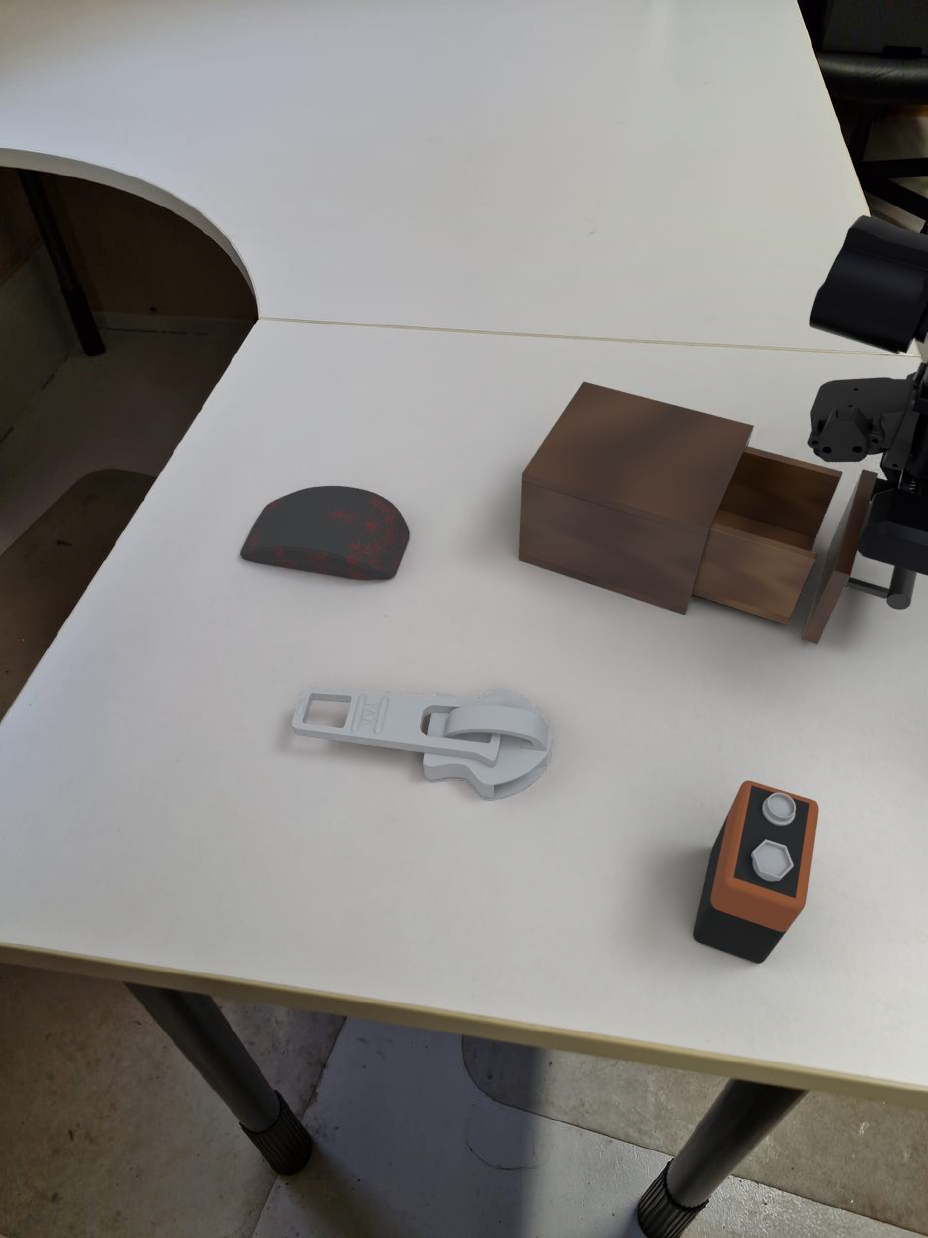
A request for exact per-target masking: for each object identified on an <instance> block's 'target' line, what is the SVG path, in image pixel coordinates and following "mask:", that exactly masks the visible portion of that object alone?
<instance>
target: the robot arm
mask: <svg viewBox="0 0 928 1238" xmlns="http://www.w3.org/2000/svg"><path fill="white" fill-rule="evenodd" d="M808 325H809V327H810V328H812V329H814V330H818V331H822V332H824V333H827V334H831V335H834V336H838V337H841V338H844V339H847V340H850V341H853V342H857V343H859V344H862V345H866V346H869V347H872V348H875V349H879V350H882V351H885V352H888V353H891V354H894V355H899V354H900V353H903V354H907V353H908V351H909V349H910V347H912V344H913V341H914V342H917V343H919V344H922V345H924V344H925V343H926V342H928V234H924V233H921V232H917V231H914V230H909V229H906V228H901V227H897V226H895V225H892V224H891V223H889V222H888V221H885V220H883V219H881V218H877V217H873V216H870V215H865V214H862V215H860V216H858V217H857V218H856V220H855V221H854V222H853V223H852V225H850V227H848V229H847V232H846V234H845V238H844V240H843V243H842V246H841V248H840V250H839V251H838V253H837V255H836V257H835V259H834V260H833V262H832V265H831V267H830V269H829V270H828V273H827V275H826V278H825V280H824V282H823V283H822V284H821V286H820V287H819V288H818V290H817V291H816V294H815V297H814V300H813V303H812V306H811V310H810V314H809V319H808ZM809 416H810V428H811V431H810V434H809V437H808V439H807V443H806V444H807V446H808V447H809V448H810V449H812V451H813V454H814V456H816V457H818V458H820V459H821V460H822V461H824V462H825V463H860V462H862V461H863V460H865V459H866V458H867V456H875V455H880V454H881V458H880V461H879V468H880V471H881V472H882V473H883V475H884V476H885V478H886V479H885V478H880V477H877V478H876V479H875V483H874V487H873V490H872V494H871V498H870V500H871V503H870V506H869V508H868V511H867V513H866V516H865V519H864V521H863V524H862V528H861V532H860V535H859V539H858V542H857V546H856V549H857V552H858V553H859V554H860V555H861V556H862V557H863V558H867V559H869V560H873V561H877V562H880V563H884V564H886V565H890V566H893V567H894V566H896V567H900V568H903V569H906V570H910V571H913V572H917V574H920V575H923V576H927V577H928V358H927V359H926V361H925V362H924V361H923V362H922V361H921V362H919V365H918V367H917V370H916V371H914V372H911V373H908V374H907V375H906V377H905V378H892V377H889V376H880V377H879V376H878V377H863V378H847V379H846V378H845V379H843V378H842V379H832V380H829V381H826V382H824V383H822V384H820V386H819V388H818V390H817V393H816V396H815V399H814V401H813V403H812V406H811V409H810V412H809Z"/></svg>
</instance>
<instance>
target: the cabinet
mask: <svg viewBox="0 0 928 1238" xmlns="http://www.w3.org/2000/svg"><path fill="white" fill-rule="evenodd" d="M754 428H755V426H754V425H753V424H750V423H746V422H742V421H737V420H733V419H730V418H727V417H724V416H723V417H722V416H718V415H714V414H710V413H706V412H704V411H703V412H702V411H699V410H696V409H691V408H687V407H684V406H680V405H677V404H673V403H667V402H665V401H660V400H657V399H653V398H649V397H645V396H641V395H637V394H635V393H629V392H626V391H622V390H618V389H615V388H611V387H607V386H603V385H599V384H595V383H591V382H588V381H582V383H581V384H580V386H579V388H578V389H577V391H576V392H575V393H574V395H573V396H572V398H571V399H570V401H569V402H568V404H567V405H566V407H565V408H564V410H563V411H562V413H561V414H560V416H559V417H558V419H557V421H556V422H555V423H554V425H553V426H552V428H551V430H550V431H549V432H548V434H547V435H546V436H545V438H544V440H543V441H542V442H541V444H540V446H539V447H538V449H537V450H536V452H535V453H534V454H533V456H532V457H531V459H530V461H529V462H528V463H527V465H526V466H525V468H524V470H523V471H522V472H521V487H520V488H521V489H520V513H519V515H520V516H519V535H518V536H519V537H518V560H519V561H521V562H524V563H528V564H531V565H534V566H537V567H539V568H542V569H545V570H548V571H551V572H555V573H558V574H560V575H564V576H566V577H569V578H572V579H574V580H575V579H576V580H577V581H581V582H585V583H588V584H590V585H593V586H596V587H599V588H603V589H605V590H609V591H612V592H615V593H617V594H621V595H624V596H626V597H630V598H633V599H635V600H639V601H641V602H644V603H648V604H651V605H653V606H657V607H659V608H662V609H666V610H668V611H671V612H673V613H674V612H675V613H677V614H680V615H683V616H686V614H687V613H688V610H689V607H690V606H691V602H692V600H693V598H694V596H695V595H693V594H692V593H693V589H694V586H695V582H696V578H697V575H698V571H699V568H700V564H701V561H702V557H703V553H704V550H705V546H706V543H707V539H708V535H709V532H710V529H711V527H712V524H713V522H714V520H715V517H716V515H717V513H718V510H719V508H720V506H721V504H722V501H723V499H724V497H725V494H726V492H727V490H728V487H729V485H730V483H731V480H732V478H733V476H734V474H735V471H736V469H737V467H738V464H739V462H740V460H741V457H742V455H743V453H744V450H745V448H746V446H748V447H749V445H750V440H751V437H752V434H753V431H754Z"/></svg>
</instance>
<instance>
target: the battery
mask: <svg viewBox="0 0 928 1238" xmlns="http://www.w3.org/2000/svg"><path fill="white" fill-rule="evenodd" d="M819 809H820V808H819V804H818V803H817V801H815V800H814V799H811V798H808V797H804V796H801V795H798V794H795V793H792V792H790V791H789V792H788V791H786V790H783V789H779V788H776V787H772V786H769V785H766V784H763V783H760V782H756V781H752V780H744V781H743V782H742V783H741V785H740V787H739V788H738V791H737V793H736V795H735V798H734V800H733V801H732V804H731V806H730V808H729V809H728V810H729V811H728V812H727V814H726V816H725V819H724V821H723V823H722V825H721V828H720V830H719V831H718V834H717V836H716V839H715V841H714V843H713V845H712V847H711V850H710V854H709V860H708V863H707V868H706V873H705V877H704V881H703V887H702V891H701V896H700V900H699V905H698V910H697V914H696V917H695V922H694V928H693V932H692V933H693V939H694V940H695V942H697V943H699V944H701V945H705V946H707V947H710V948H713V949H715V950H718V951H721V952H724V953H727V954H728V955H729V954H730V955H732V956H735V957H737V958H741V959H743V960H745V961H748V962H751V963H754V964H758V965H761V964H763V963H764V962H765V961H766V960H767V959H768V957H769V956H770V955H771V953H772V952H773V950H774V949H775V948H776V946H777V945H778V944H779V943H780V941H781V940H782V939H783V937H784V936H785V934H786V933H787V932H788V931H789V929H790V928H791V927H792V925H793V924H794V922H796V920H797V918H798V917H799V916H800V914H801V913H802V912H803V910H804V909H805V907H806V904H807V898H808V892H809V891H808V890H809V885H810V879H811V878H810V876H811V871H812V870H811V869H812V862H813V856H814V848H815V841H816V840H815V839H816V834H817V826H818V819H819V811H820V810H819Z"/></svg>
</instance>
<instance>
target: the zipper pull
mask: <svg viewBox="0 0 928 1238" xmlns="http://www.w3.org/2000/svg"><path fill="white" fill-rule="evenodd" d="M314 701H316V702H317V701H318V702H332V703H346V704H349V708H348V712H347V715H346V719H345V723H344V724H343V727H335V726H328V725H321V724H312V723H307V722H308V721H307V720H308V717H309V714H310V710H311V707H312V703H313V702H314ZM428 715H430V719H429V724H428V727H427V728H428V729H427V734H426V733H424V732H423V731H422V730H423V724H424V719H425V718H426V717H427V716H428ZM291 726H292V729H293V732H294V734H295V735H297V736H301V737H307V738H314V739H321V740H329V741H335V742H343V743H351V744H357V745H358V744H359V745H365V746H373V747H379V748H389V749H395V750H403V751H411V752H417V753H423V754H424V755H423V761H422V767H423V772H424V773H423V775H424V779H425V781H427V782H429V783H438V782H445V781H454V780H455V781H456V780H457V781H464V782H466V783H468V784H469V785H470V787H471V788H472V789H473V790H474V792H475V793H476V794H477V795H478V797H480V798H481V799H483V800H485V801H495V800H501V799H505V798H508V797H512V796H514V795H516V794H519V793H520V792H523V791H524V790H526V789H527V788H529V787H530V786H532V785H534V783H536V782H537V781H538V780H539V779H540V778H541V777H542V776H543V774H544V773H545V771H546V770H547V768H548V767H549V765H550V762H551V759H552V749H551V748H552V746H553V741H554V737H553V736H554V735H553V731H552V728H551V725H550V724H549V722H548V720H547V718H546V717H545V716H544V714H543V713H542V712H541V711H540V709H539V708H538V707H537V706H536V705H535V704H533V703H532V702H531V701H530V700H529V699H527V698H525V696H522V695H521V694H519V693H517V692H514V691H512V690H510V689H508V688H505V687H494V688H492V689H490V690H489V691H487V692H486V693H484V694H483V695H481V696H479V697H478V698H477V697H476V698H474V697H461V696H455V695H452V694H450V693H448V692H443V691H442V692H437V693H436V694H435V695H433V694H432V695H431V694H419V693H418V694H415V693H401V692H400V693H399V692H387V691H386V692H385V691H371V690H358V689H345V688H344V689H343V688H327V687H326V688H325V687H312V686H307V687H304V688H303V689H301V691H300V694H299V697H298V700H297V704H296V707H295V710H294V713H293V717H292V720H291Z"/></svg>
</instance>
